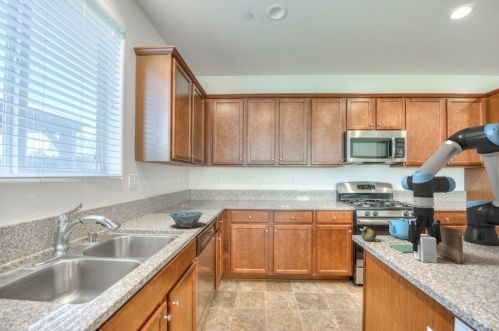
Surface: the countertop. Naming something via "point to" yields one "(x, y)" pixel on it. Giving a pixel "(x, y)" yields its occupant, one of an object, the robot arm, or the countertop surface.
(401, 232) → the teapot
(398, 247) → the mat
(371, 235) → the onion
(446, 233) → the screen
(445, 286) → the countertop surface
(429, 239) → the small box
